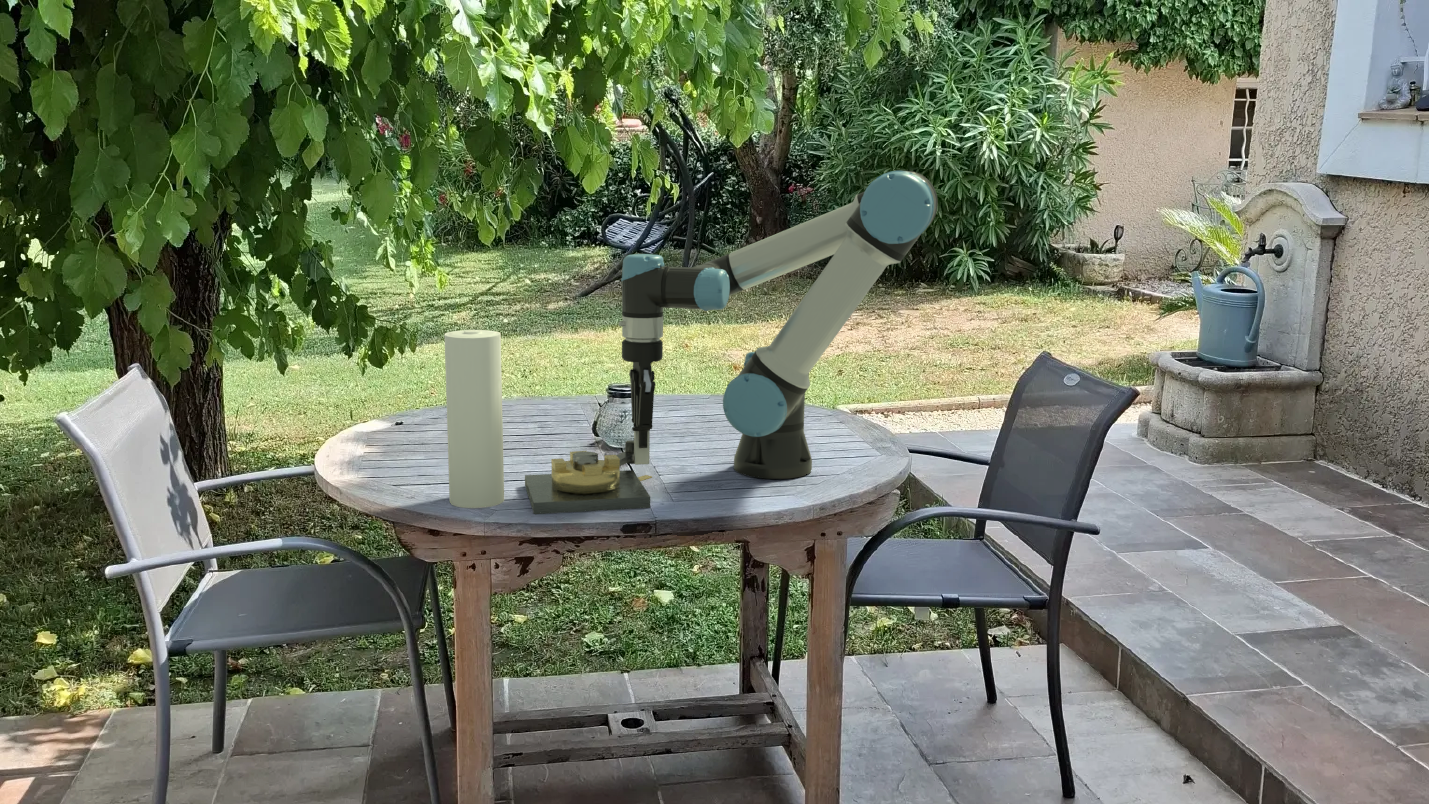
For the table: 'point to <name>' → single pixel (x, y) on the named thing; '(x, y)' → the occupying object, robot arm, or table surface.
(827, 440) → the table surface
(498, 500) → the cylinder container
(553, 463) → the ring nut
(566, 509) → the collar plate
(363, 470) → the table surface
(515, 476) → the table surface
